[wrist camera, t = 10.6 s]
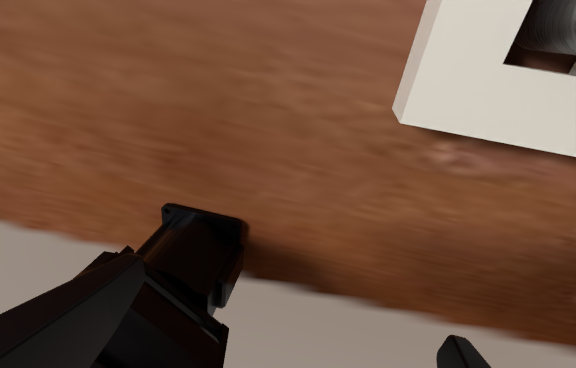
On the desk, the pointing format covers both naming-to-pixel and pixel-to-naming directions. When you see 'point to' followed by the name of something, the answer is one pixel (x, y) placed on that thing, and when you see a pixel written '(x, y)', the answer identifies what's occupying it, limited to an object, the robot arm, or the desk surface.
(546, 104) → the hole block
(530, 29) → the metal peg
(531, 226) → the desk surface
